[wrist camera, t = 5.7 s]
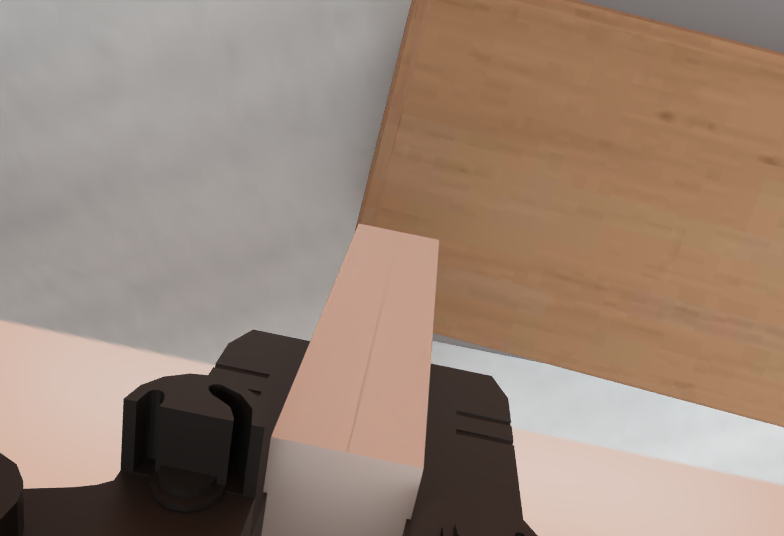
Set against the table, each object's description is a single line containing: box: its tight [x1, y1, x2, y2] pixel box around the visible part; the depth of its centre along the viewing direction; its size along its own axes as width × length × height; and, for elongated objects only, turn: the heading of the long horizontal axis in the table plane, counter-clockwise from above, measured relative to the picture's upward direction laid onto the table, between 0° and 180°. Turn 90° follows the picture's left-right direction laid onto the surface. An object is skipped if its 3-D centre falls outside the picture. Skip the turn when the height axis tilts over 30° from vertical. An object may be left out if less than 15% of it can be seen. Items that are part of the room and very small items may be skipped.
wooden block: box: [354, 0, 784, 427], centre depth 24 cm, size 10×10×20 cm
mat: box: [432, 0, 784, 364], centre depth 30 cm, size 16×20×1 cm
